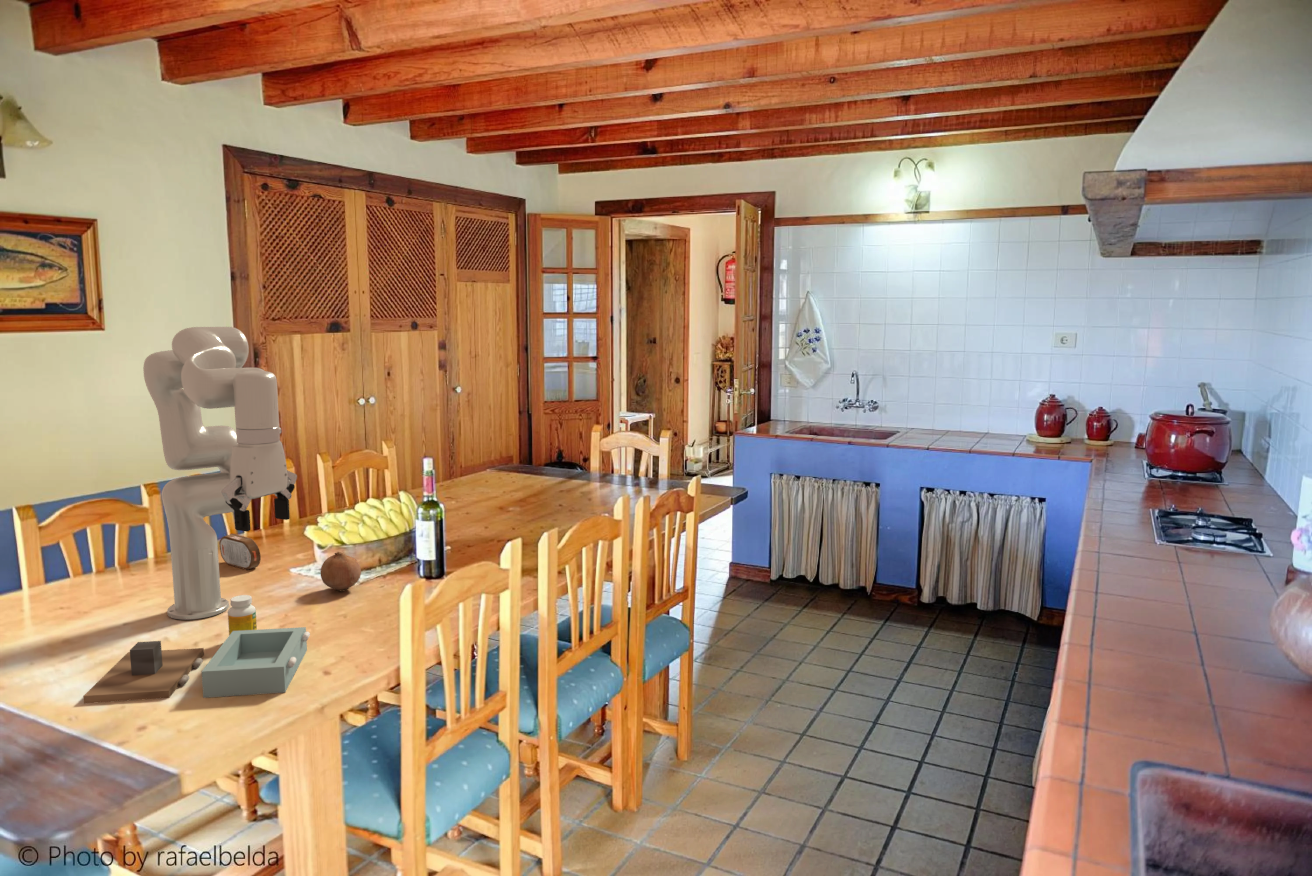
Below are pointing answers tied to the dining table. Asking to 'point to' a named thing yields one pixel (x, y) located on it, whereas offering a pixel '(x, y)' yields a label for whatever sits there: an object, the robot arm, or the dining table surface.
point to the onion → (340, 572)
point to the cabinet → (255, 662)
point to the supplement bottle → (241, 614)
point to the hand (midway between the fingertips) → (263, 524)
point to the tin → (240, 551)
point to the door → (146, 674)
